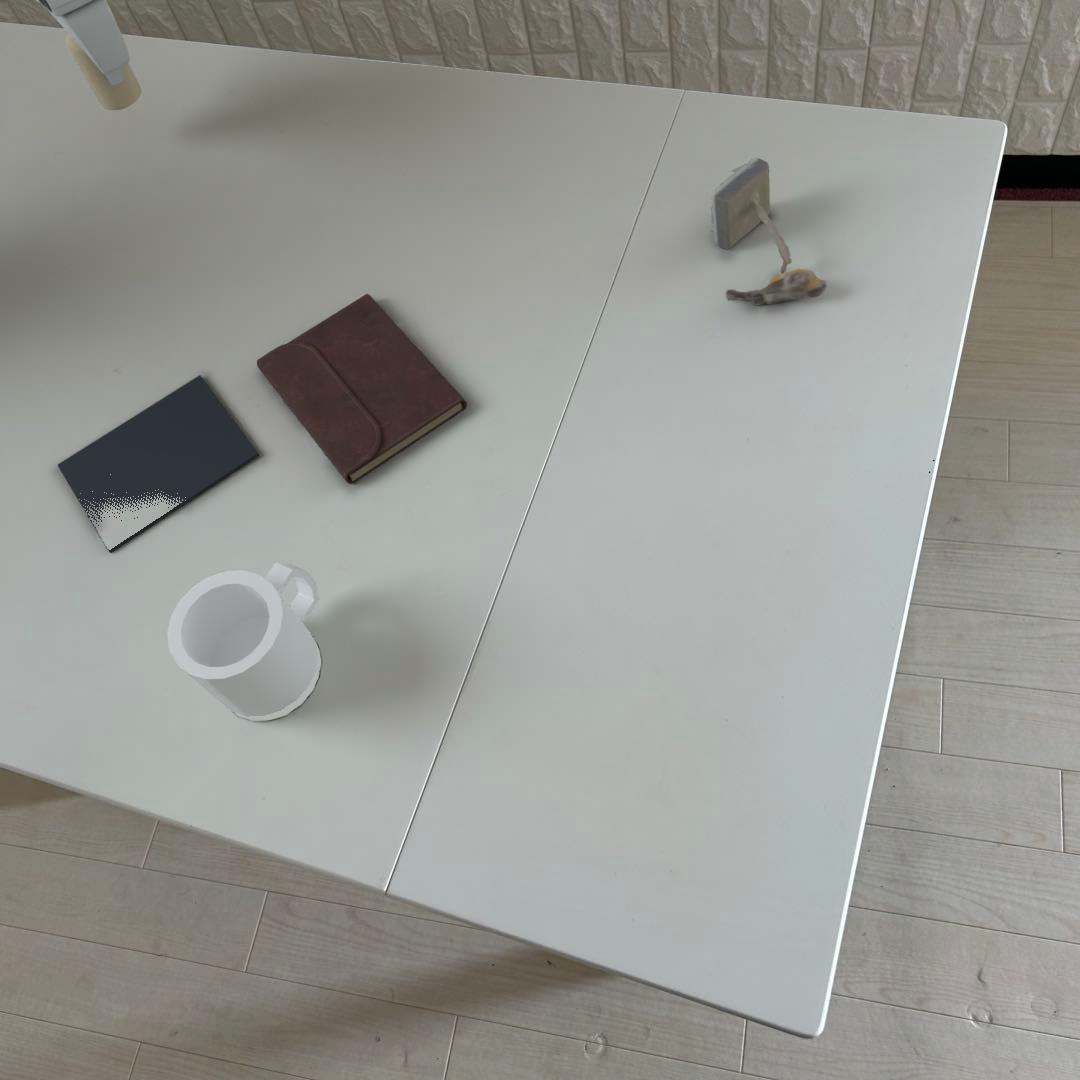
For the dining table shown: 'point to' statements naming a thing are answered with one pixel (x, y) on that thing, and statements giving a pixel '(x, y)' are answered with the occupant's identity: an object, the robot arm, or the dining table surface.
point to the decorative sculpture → (738, 213)
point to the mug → (247, 638)
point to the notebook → (360, 387)
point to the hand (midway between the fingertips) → (105, 67)
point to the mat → (161, 454)
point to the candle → (106, 81)
